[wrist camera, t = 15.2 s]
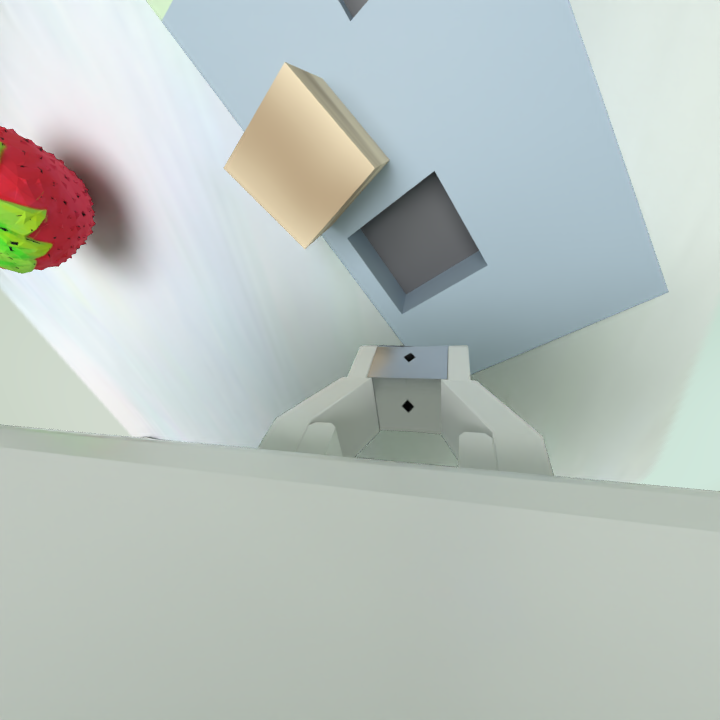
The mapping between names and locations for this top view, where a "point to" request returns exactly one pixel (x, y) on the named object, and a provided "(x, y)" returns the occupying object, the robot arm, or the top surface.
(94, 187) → the top surface
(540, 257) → the trap board
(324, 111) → the beech block
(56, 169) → the strawberry
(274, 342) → the top surface
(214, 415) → the top surface
